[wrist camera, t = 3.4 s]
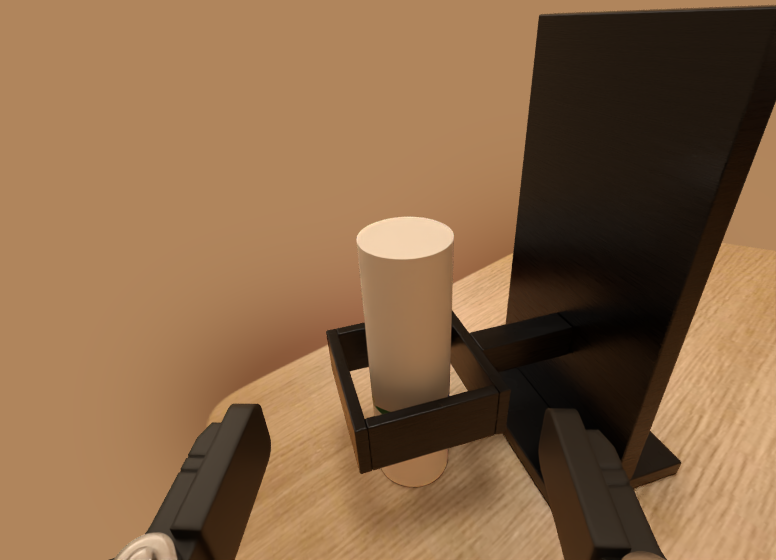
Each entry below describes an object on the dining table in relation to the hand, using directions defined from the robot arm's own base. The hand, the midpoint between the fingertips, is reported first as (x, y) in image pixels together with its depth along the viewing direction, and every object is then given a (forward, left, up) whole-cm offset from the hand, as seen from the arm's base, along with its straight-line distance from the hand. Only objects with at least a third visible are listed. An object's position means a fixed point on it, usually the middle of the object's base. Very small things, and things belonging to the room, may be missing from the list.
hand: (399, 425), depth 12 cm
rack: (+8, +9, -13) cm, 18 cm away
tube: (+3, +9, -14) cm, 16 cm away
